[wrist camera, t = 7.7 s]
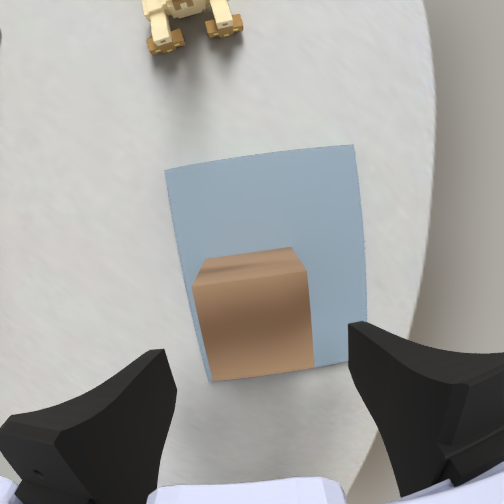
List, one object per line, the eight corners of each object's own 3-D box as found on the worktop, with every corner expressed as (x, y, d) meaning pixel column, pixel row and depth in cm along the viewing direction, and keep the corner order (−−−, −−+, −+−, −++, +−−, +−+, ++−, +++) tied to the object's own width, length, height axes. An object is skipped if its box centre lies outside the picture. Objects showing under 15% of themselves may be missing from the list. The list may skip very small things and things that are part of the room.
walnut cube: (299, 324, 19) (314, 367, 15) (219, 335, 20) (213, 381, 15) (291, 246, 18) (307, 270, 13) (205, 258, 18) (191, 286, 14)
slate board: (362, 351, 21) (366, 357, 20) (209, 375, 21) (208, 381, 20) (349, 145, 18) (353, 144, 17) (167, 170, 18) (164, 170, 17)
